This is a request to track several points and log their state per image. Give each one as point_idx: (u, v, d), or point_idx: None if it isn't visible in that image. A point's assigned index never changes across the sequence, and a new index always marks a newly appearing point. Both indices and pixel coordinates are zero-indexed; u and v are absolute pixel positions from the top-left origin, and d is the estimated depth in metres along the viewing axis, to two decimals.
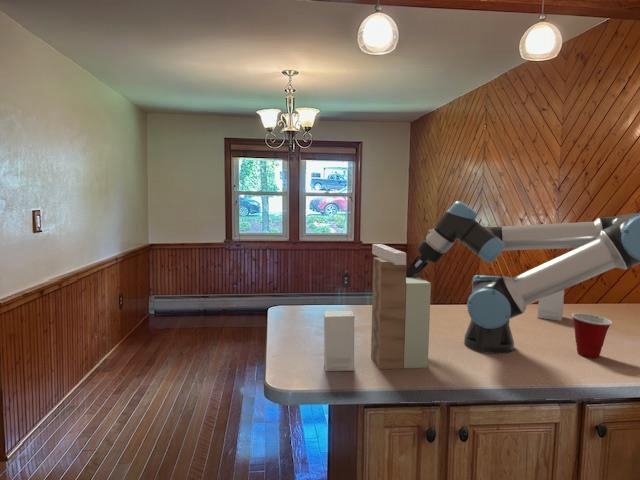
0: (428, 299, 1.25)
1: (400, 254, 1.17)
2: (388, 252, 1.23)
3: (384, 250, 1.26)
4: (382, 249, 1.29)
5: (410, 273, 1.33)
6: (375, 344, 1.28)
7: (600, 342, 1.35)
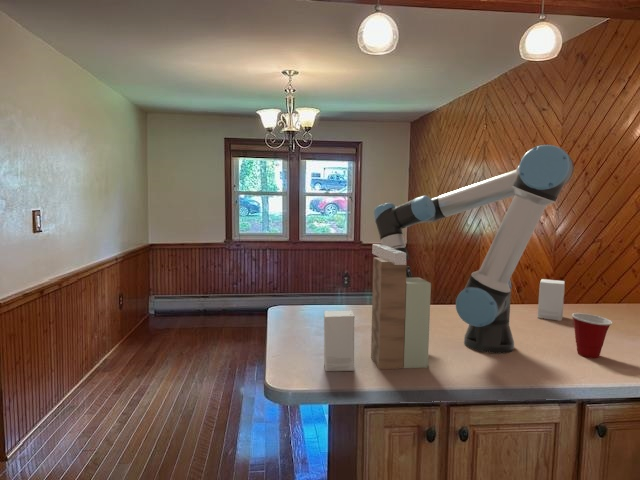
0: (428, 299, 1.25)
1: (400, 254, 1.17)
2: (388, 252, 1.23)
3: (384, 250, 1.26)
4: (382, 249, 1.29)
5: None
6: (375, 344, 1.28)
7: (600, 342, 1.35)
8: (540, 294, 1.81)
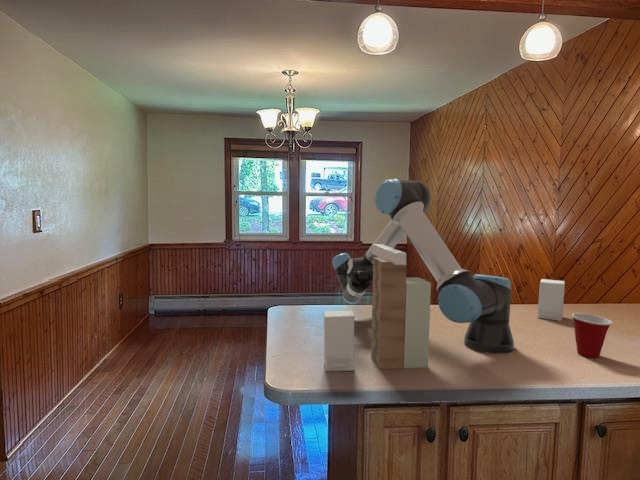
0: (428, 299, 1.25)
1: (400, 254, 1.17)
2: (388, 252, 1.23)
3: (384, 250, 1.26)
4: (382, 249, 1.29)
5: None
6: (375, 344, 1.28)
7: (600, 342, 1.35)
8: (540, 294, 1.81)
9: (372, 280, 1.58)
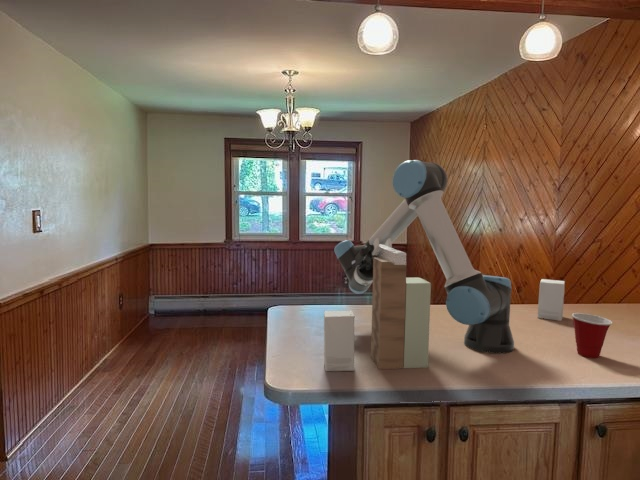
0: (428, 299, 1.25)
1: (400, 254, 1.17)
2: (388, 252, 1.23)
3: (384, 250, 1.26)
4: (382, 249, 1.29)
5: (357, 258, 1.43)
6: (375, 344, 1.28)
7: (600, 342, 1.35)
8: (540, 294, 1.81)
9: None
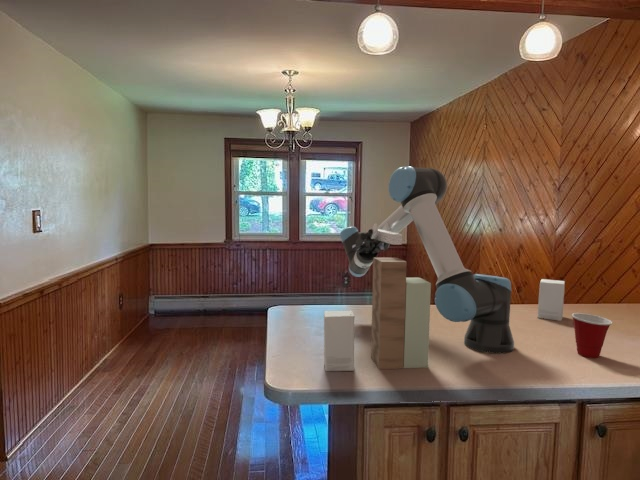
0: (428, 299, 1.25)
1: (396, 235, 1.32)
2: (386, 234, 1.37)
3: (382, 233, 1.41)
4: (380, 232, 1.43)
5: (357, 242, 1.58)
6: (375, 344, 1.28)
7: (600, 342, 1.35)
8: (540, 294, 1.81)
9: (376, 249, 1.60)
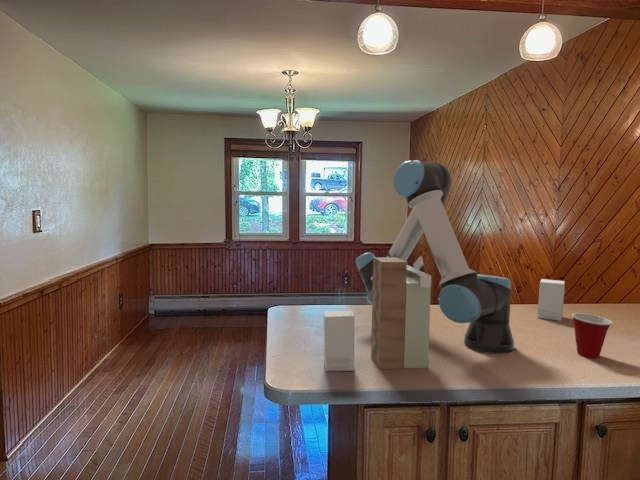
0: (428, 299, 1.25)
1: (425, 277, 1.18)
2: (412, 273, 1.24)
3: (407, 271, 1.28)
4: None
5: (372, 274, 1.45)
6: (375, 344, 1.28)
7: (600, 342, 1.35)
8: (540, 294, 1.81)
9: None
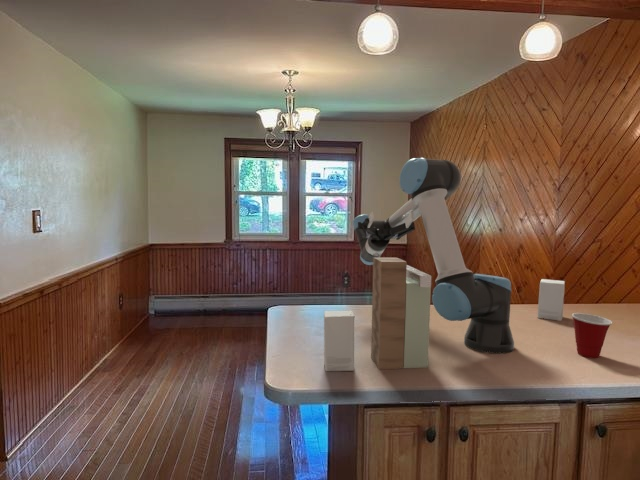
0: (428, 299, 1.25)
1: (425, 277, 1.18)
2: (412, 273, 1.24)
3: (407, 271, 1.28)
4: None
5: None
6: (375, 344, 1.28)
7: (600, 342, 1.35)
8: (540, 294, 1.81)
9: (391, 236, 1.60)
